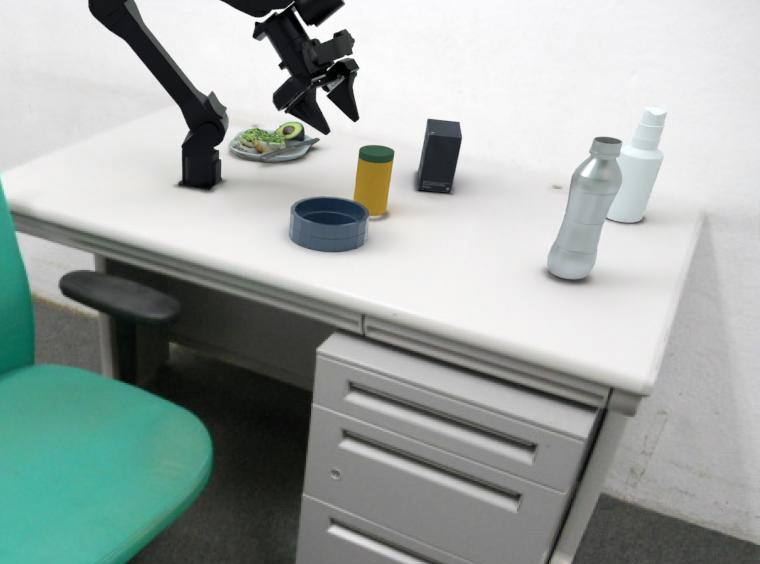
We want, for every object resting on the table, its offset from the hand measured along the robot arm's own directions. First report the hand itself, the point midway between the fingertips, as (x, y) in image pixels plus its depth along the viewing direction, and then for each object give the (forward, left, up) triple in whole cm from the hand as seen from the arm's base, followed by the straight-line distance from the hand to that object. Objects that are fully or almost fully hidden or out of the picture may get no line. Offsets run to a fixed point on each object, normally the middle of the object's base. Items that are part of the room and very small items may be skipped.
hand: (343, 127), depth 129 cm
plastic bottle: (+40, -12, -14) cm, 44 cm away
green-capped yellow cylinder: (+7, -2, -13) cm, 15 cm away
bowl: (+3, -16, -13) cm, 21 cm away
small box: (+14, +19, -14) cm, 27 cm away
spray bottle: (+47, +17, -14) cm, 52 cm away
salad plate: (-21, +24, -14) cm, 35 cm away
